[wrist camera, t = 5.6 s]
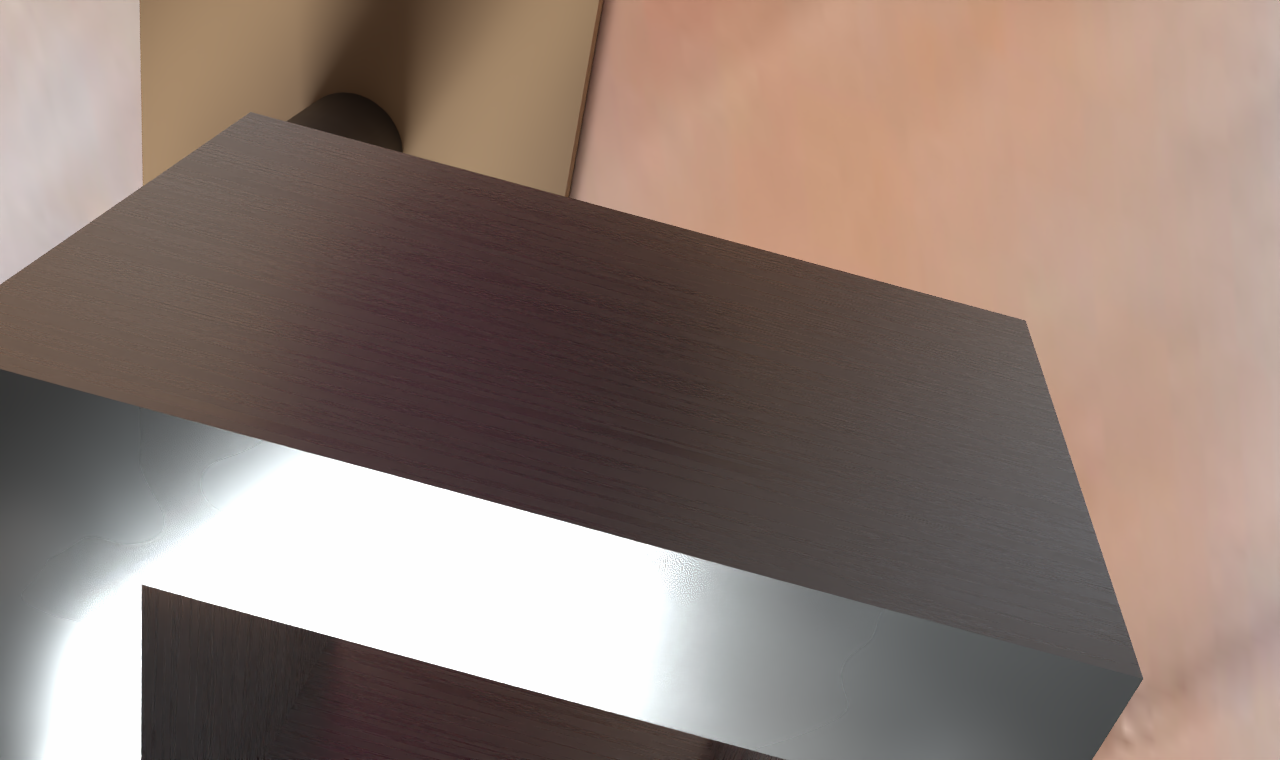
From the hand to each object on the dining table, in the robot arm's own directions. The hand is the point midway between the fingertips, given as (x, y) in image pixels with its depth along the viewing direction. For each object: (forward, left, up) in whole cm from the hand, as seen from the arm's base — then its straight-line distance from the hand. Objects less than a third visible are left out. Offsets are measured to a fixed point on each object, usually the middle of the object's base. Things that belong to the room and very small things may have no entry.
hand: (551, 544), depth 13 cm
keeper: (+8, +1, -14) cm, 16 cm away
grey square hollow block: (0, 0, 0) cm, 0 cm away
